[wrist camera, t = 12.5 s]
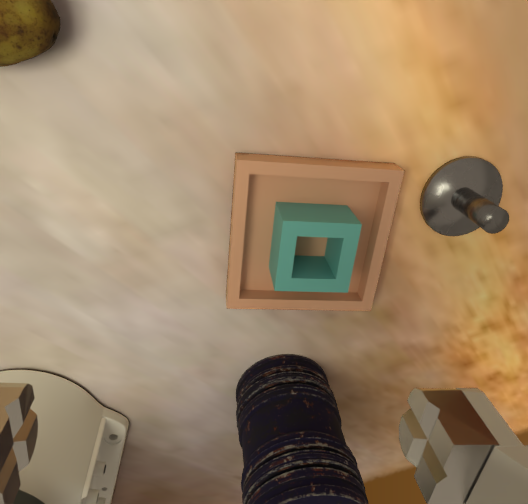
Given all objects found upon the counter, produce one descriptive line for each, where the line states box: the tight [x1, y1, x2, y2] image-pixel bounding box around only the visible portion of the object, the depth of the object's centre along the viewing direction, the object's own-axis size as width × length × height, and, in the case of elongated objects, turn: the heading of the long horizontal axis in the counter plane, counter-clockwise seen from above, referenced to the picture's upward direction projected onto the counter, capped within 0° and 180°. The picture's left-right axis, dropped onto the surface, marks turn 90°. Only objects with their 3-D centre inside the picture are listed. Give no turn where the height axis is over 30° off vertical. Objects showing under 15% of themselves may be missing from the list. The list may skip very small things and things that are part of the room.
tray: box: [226, 153, 404, 311], centre depth 37 cm, size 13×13×2 cm
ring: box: [269, 202, 362, 293], centre depth 36 cm, size 6×6×4 cm
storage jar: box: [236, 354, 368, 504], centre depth 40 cm, size 10×10×15 cm
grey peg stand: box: [420, 156, 509, 236], centre depth 36 cm, size 7×7×6 cm
